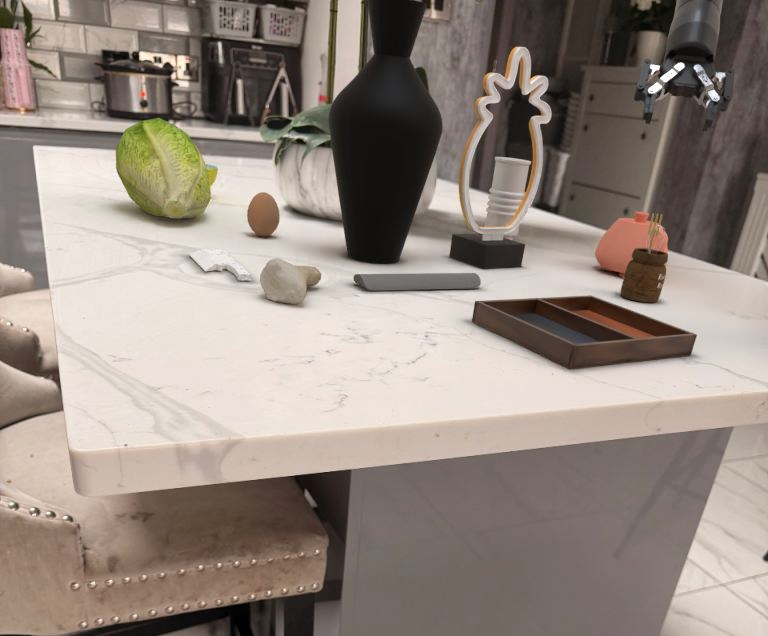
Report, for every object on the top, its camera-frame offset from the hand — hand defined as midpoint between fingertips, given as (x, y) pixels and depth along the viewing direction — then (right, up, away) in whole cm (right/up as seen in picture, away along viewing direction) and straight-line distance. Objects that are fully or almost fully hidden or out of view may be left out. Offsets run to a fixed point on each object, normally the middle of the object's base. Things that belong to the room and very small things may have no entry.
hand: (677, 123), depth 116 cm
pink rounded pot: (-1, -18, +18) cm, 25 cm away
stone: (-56, -32, -18) cm, 67 cm away
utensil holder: (-5, -26, +2) cm, 27 cm away
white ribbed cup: (-22, -7, +33) cm, 40 cm away
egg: (-66, -12, +14) cm, 68 cm away
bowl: (-86, +7, +44) cm, 96 cm away
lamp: (-27, -17, +14) cm, 35 cm away
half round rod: (-40, -27, -7) cm, 49 cm away
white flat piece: (-68, -25, -10) cm, 73 cm away
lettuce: (-84, -6, +22) cm, 87 cm away
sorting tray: (-21, -38, -22) cm, 49 cm away
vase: (-47, -18, +8) cm, 51 cm away
